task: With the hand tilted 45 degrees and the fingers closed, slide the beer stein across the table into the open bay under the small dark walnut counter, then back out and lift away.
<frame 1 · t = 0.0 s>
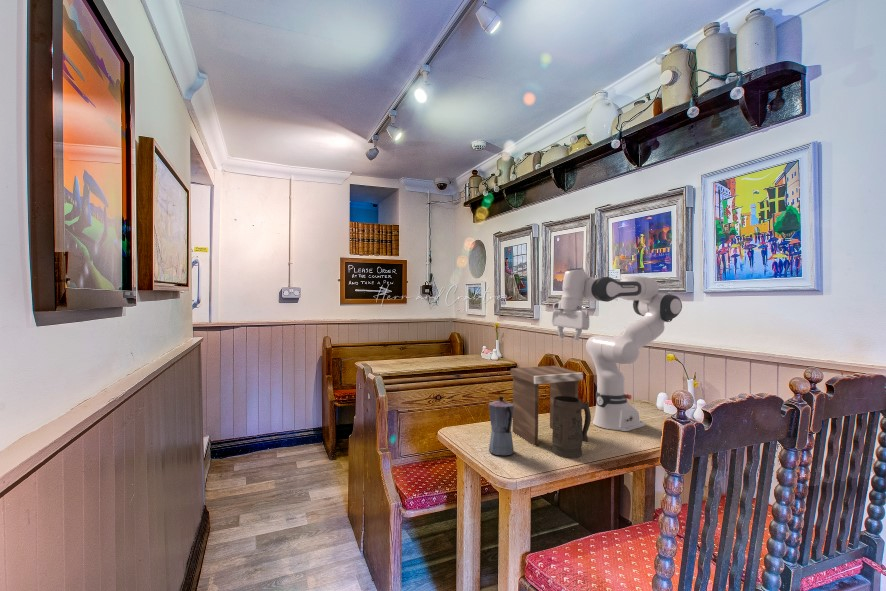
hand: (568, 338, 175), 39 cm above the table, tool pointing down, fingers open, 8 cm apart
moka pot: (502, 452, 151), on the table
beer stein: (571, 451, 152), on the table
walnut counter: (544, 435, 168), on the table
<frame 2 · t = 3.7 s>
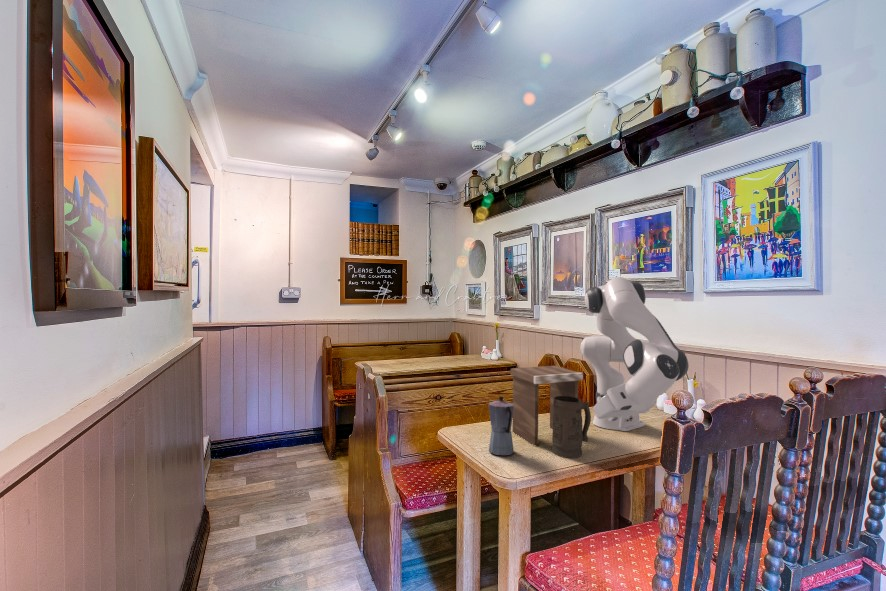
hand: (611, 418, 134), 17 cm above the table, tool tilted 45°, fingers closed
nothing on the table moved.
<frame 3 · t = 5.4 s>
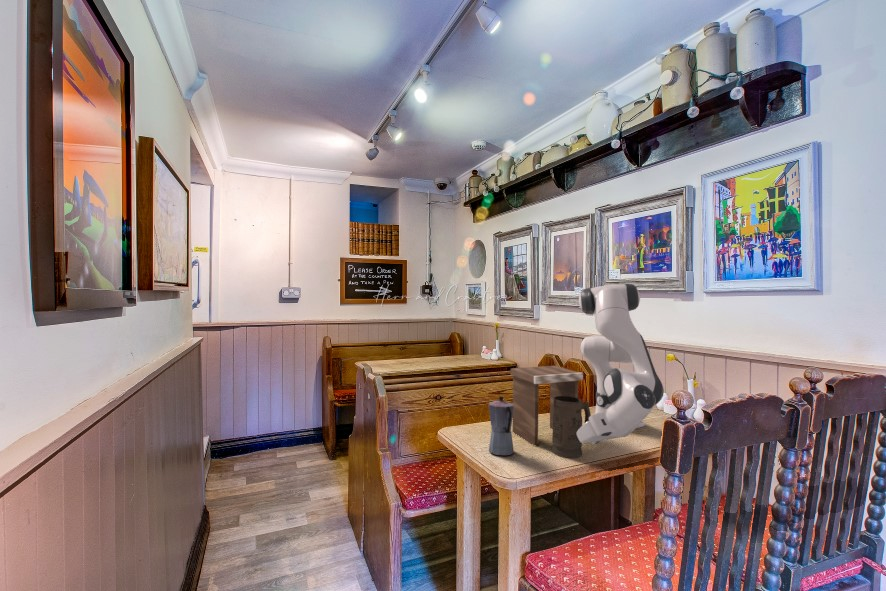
hand: (594, 441, 142), 7 cm above the table, tool tilted 45°, fingers closed
nothing on the table moved.
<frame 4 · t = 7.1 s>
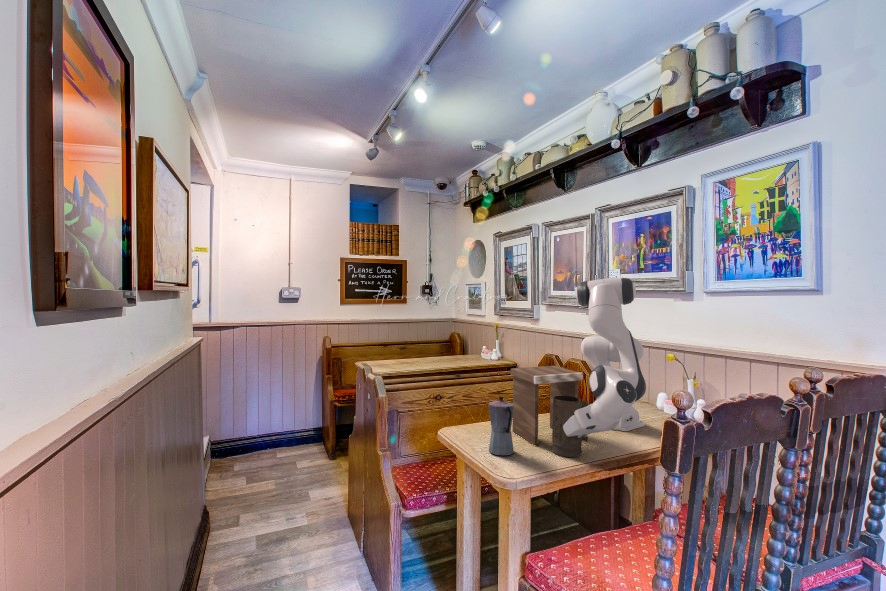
hand: (580, 435, 148), 7 cm above the table, tool tilted 45°, fingers closed
beer stein: (571, 451, 153), on the table, touching gripper
everything else where it was.
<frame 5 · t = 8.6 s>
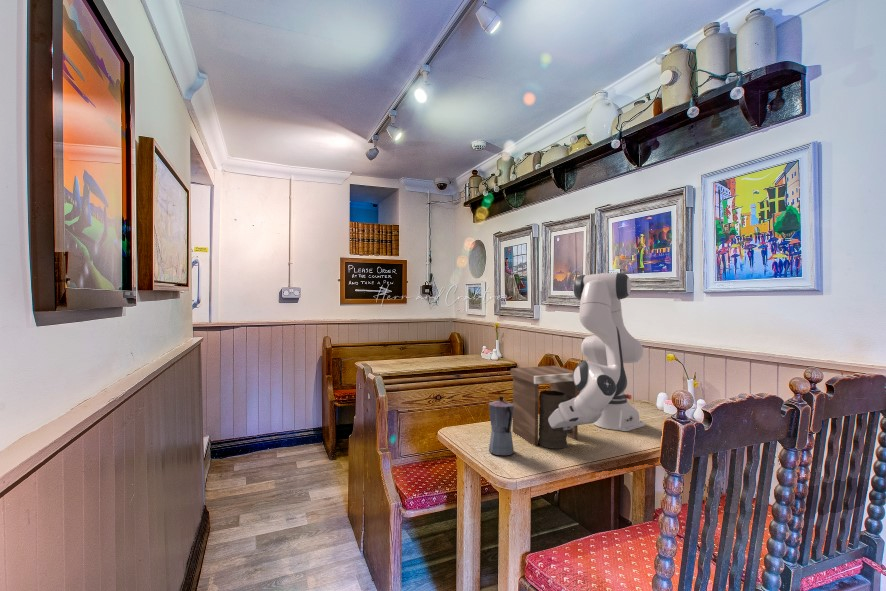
hand: (565, 428, 156), 7 cm above the table, tool tilted 45°, fingers closed
beer stein: (557, 443, 160), on the table, touching gripper
everything else where it was.
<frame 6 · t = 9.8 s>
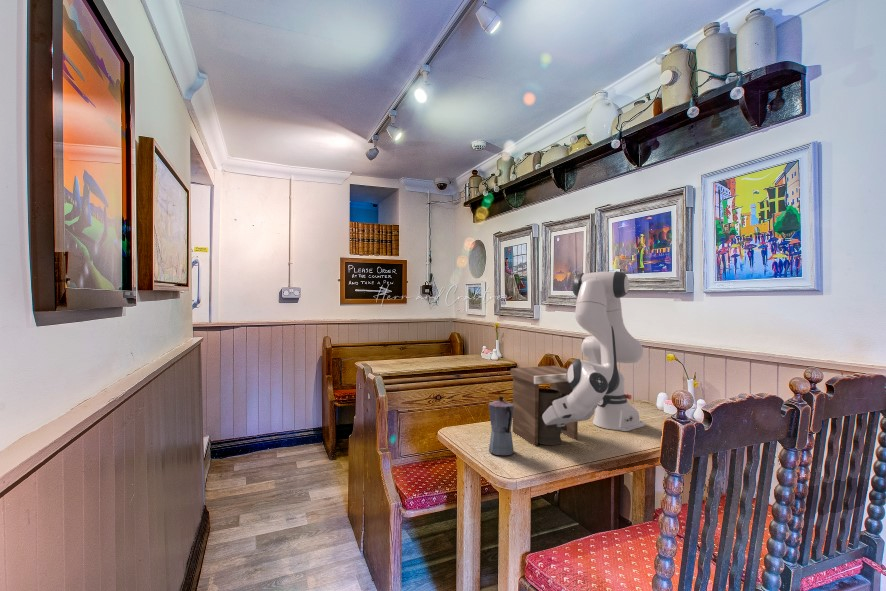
hand: (559, 425, 159), 7 cm above the table, tool tilted 45°, fingers closed
beer stein: (551, 440, 163), on the table, touching gripper
everything else where it was.
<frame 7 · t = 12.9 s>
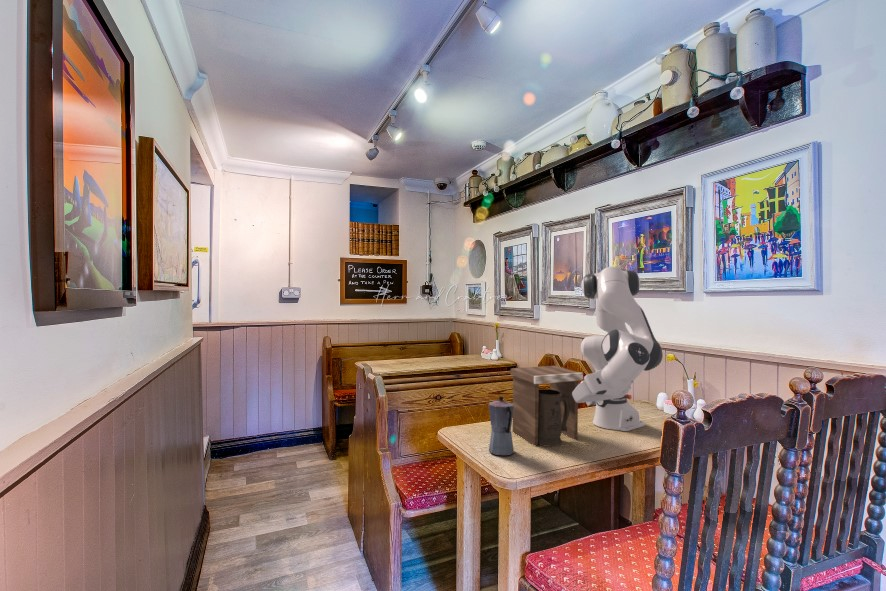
hand: (589, 403, 144), 20 cm above the table, tool tilted 45°, fingers closed
beer stein: (551, 440, 163), on the table
everything else where it was.
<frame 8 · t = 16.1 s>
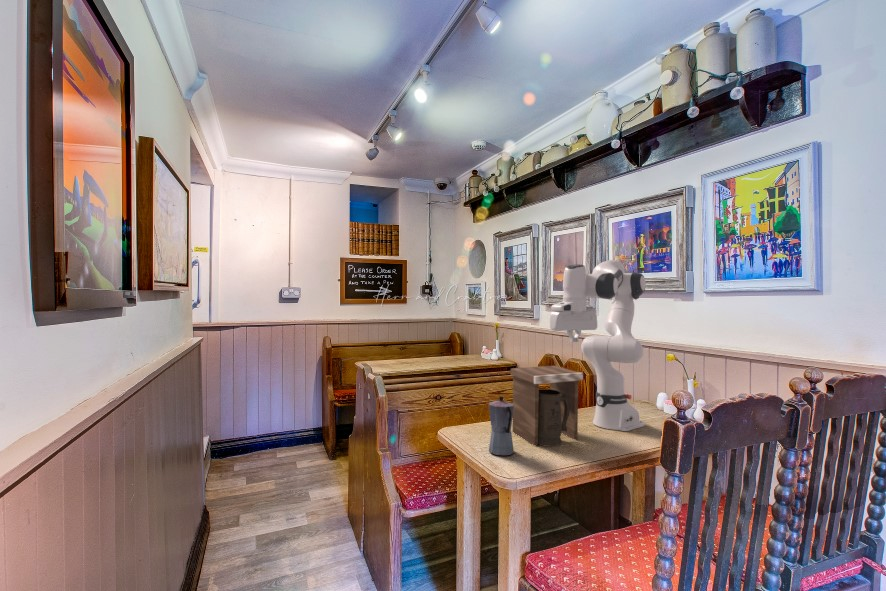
hand: (573, 342, 161), 39 cm above the table, tool pointing down, fingers closed
nothing on the table moved.
at the end: beer stein inside the target area on the walnut counter (6.8 cm from its centre), point 0.0 cm above the walnut counter's base; beer stein tilted 0°; beer stein moved 11.7 cm from its start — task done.
